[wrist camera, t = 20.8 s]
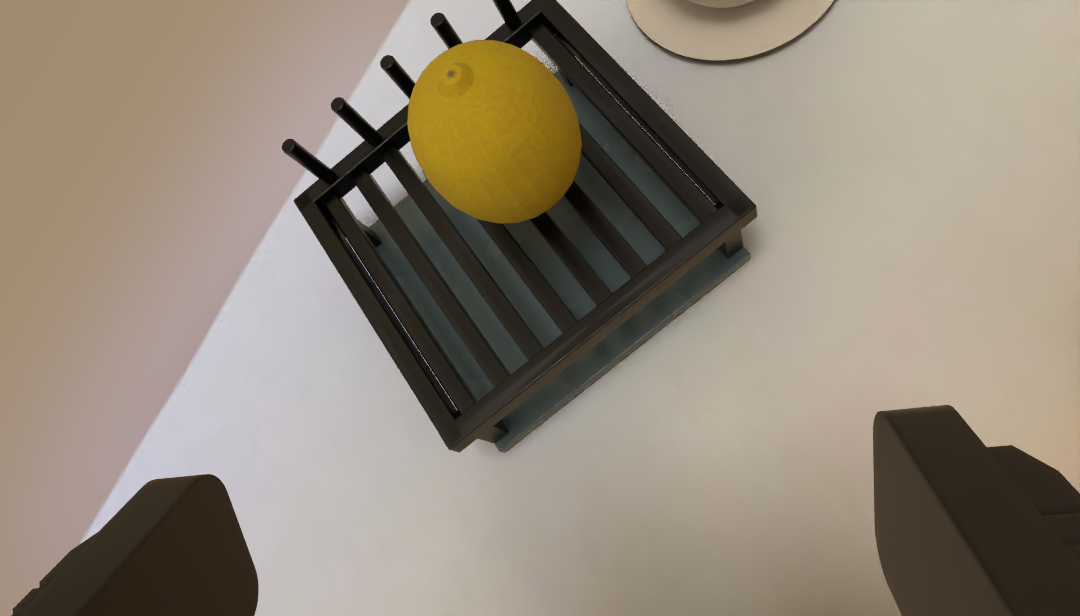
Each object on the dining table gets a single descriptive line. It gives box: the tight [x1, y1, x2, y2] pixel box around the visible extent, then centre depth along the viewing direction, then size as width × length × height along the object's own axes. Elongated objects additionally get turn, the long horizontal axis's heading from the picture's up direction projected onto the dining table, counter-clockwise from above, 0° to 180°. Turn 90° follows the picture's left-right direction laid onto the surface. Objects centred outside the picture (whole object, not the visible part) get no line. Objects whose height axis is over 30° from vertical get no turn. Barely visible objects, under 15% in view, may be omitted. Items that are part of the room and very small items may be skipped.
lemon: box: [407, 40, 582, 224], centre depth 26 cm, size 6×6×8 cm
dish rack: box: [282, 0, 757, 452], centre depth 31 cm, size 14×13×8 cm
